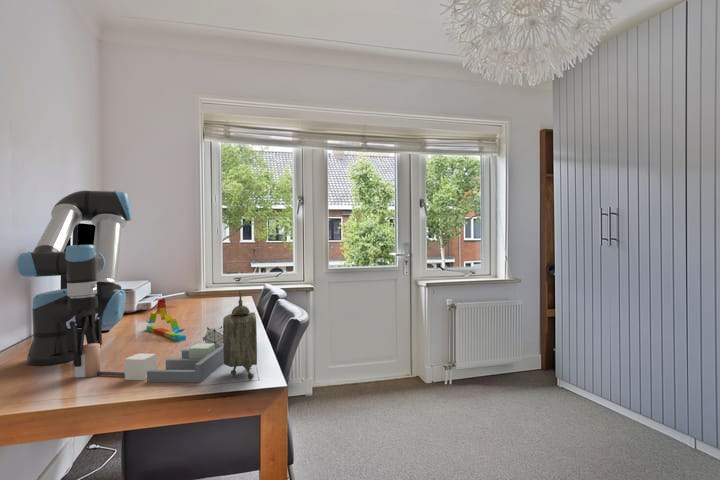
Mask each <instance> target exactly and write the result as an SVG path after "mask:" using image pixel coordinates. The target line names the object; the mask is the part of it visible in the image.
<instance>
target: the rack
mask: <svg viewBox="0 0 720 480" xmlns="http://www.w3.org/2000/svg"><path fill="white" fill-rule="evenodd" d="M221 365H224V352H223V345H222V346H220V347H219V348H215V351H213V352H212V353H211V354H209V355H208V356H206V357H205V358H204V359H189V349H182V350H181V358H167V359H166V360H165V369H157V370H148V371H147V379H146V382H147V383H201V382H203V381H204V380H205V379H206V378H208V377H209V376H210V375H211V374H212V373H214V371H216V370H217V369H218V368H220V367H221Z"/></svg>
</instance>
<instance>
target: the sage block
mask: <svg viewBox="0 0 720 480" xmlns="http://www.w3.org/2000/svg"><path fill="white" fill-rule="evenodd" d="M188 350H189V359H204V358H205V357H206V356H208V355H209V354H211V353H212V352H213V351H215V350H216V348H215V343H206V342H205V343H202V342H200V343H196V344H194V345H192V346H190V347H189V348H188Z"/></svg>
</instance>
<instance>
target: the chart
mask: <svg viewBox="0 0 720 480" xmlns="http://www.w3.org/2000/svg"><path fill="white" fill-rule="evenodd" d="M167 312H168V311H167V305H166V298H159V299H158V301H157V307H156V311H151V312H150V316H149V320H146V323H148V324H152V325H147V326H146V331H148V332H152V333H153V334H157V335H160V336H162V337H165V338H168V339H171V340H174V341H177V342H182V341H186V340H187V335H185V334H181V333H182V332H184V331H185V330H186V328H181V329H180V327H179V324H178V320H177V318H172V314H171V313H167ZM157 315H160V319H161V321H163V320H164V321H165V322H166V324H170V327H171V330H170V329H166V328H163V327H160V326H157V325H155V323H156V321H157Z"/></svg>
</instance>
